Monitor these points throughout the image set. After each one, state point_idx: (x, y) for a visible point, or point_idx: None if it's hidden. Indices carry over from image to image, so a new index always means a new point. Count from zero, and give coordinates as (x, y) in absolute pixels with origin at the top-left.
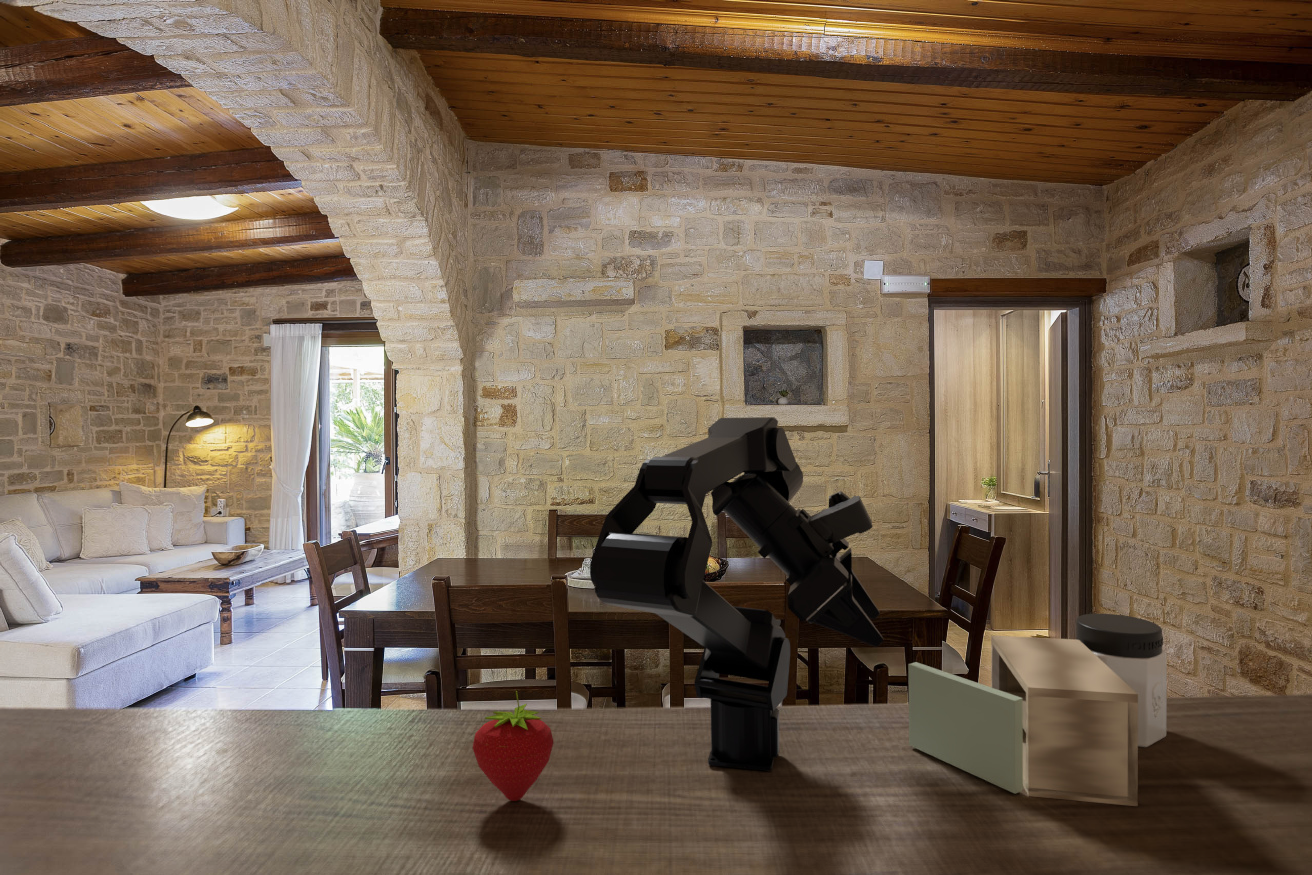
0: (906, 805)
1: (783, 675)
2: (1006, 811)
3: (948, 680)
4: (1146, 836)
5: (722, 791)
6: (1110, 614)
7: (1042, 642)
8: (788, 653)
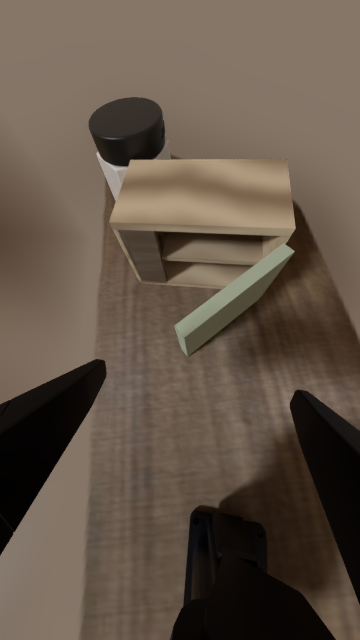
0: (293, 382)
1: (254, 604)
2: (281, 310)
3: (232, 300)
4: (289, 246)
5: (323, 606)
6: (94, 114)
7: (138, 186)
8: (221, 624)
